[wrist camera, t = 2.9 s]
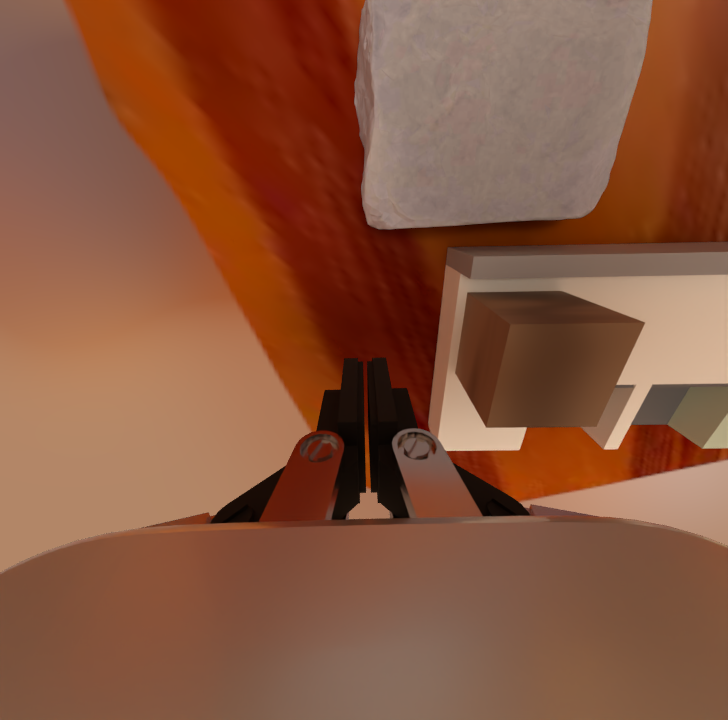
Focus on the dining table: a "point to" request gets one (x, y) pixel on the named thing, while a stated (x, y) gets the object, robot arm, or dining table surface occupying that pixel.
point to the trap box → (624, 295)
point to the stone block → (493, 106)
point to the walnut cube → (541, 357)
